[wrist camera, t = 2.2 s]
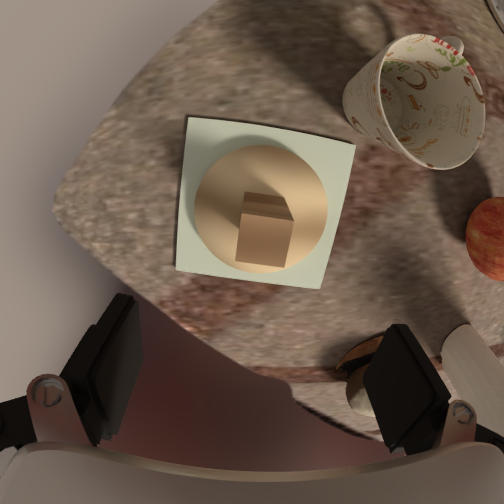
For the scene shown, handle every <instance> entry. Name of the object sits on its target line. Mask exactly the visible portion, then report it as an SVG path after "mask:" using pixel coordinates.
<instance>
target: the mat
mask: <svg viewBox="0 0 504 504" xmlns="http://www.w3.org/2000/svg"><path fill="white" fill-rule="evenodd" d="M251 145H272V146H276V147H280V148H283V149H285V150H288V151H290V152H292V153H294V154H296V155H297V156H299V157H300V158H301V159H303V160H304V161H305V162H306V163H307V164H308V165H310V166H311V167H312V169H313V170H314V171H315V173H316V174H317V175H318V177H319V179H320V180H321V182H322V185H323V187H324V190H325V193H326V197H327V205H328V214H327V221H326V225H325V229H324V232H323V234H322V236H321V238H320V240H319V241H318V243H317V245H316V246H315V247H314V249H313V250H312V251H311V252H310V253H309V254H308V255H307V256H306V257H305V258H303V259H302V260H301V261H299V262H298V263H296V264H294V265H293V266H291V267H288V268H286V269H284V270H280V271H277V272H271V273H250V272H245V271H241V270H238V269H235V268H233V267H231V266H228V265H227V264H225V263H223V262H222V261H220V260H219V259H218V258H217V257H215V256H214V255H213V254H212V253H211V252H210V251H209V249H208V248H207V247H206V246H205V244H204V243H203V241H202V239H201V237H200V235H199V233H198V230H197V227H196V223H195V217H194V202H195V196H196V193H197V190H198V187H199V185H200V182H201V180H202V179H203V177H204V176H205V174H206V172H207V171H208V170H209V169H210V168H211V167H212V166H213V165H214V164H215V163H216V162H217V161H218V160H219V159H220V158H222V157H223V156H225V155H226V154H228V153H230V152H232V151H234V150H236V149H239V148H242V147H245V146H251ZM355 148H356V145H352V144H348V143H344V142H340V141H336V140H332V139H328V138H324V137H319V136H315V135H310V134H305V133H300V132H295V131H290V130H284V129H279V128H273V127H267V126H261V125H254V124H247V123H240V122H232V121H224V120H214V119H204V118H193V117H189V119H188V126H187V134H186V142H185V151H184V160H183V169H182V180H181V191H180V203H179V217H178V233H177V253H176V270H179V271H185V272H192V273H199V274H206V275H213V276H220V277H227V278H234V279H242V280H249V281H257V282H264V283H272V284H280V285H288V286H297V287H305V288H314V289H320V286H321V283H322V280H323V276H324V273H325V269H326V266H327V263H328V259H329V255H330V252H331V248H332V245H333V241H334V237H335V234H336V230H337V226H338V222H339V218H340V214H341V210H342V206H343V202H344V198H345V194H346V189H347V185H348V181H349V176H350V172H351V167H352V162H353V158H354V153H355Z"/></svg>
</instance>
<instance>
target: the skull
mask: <svg viewBox="0 0 504 504" xmlns="http://www.w3.org/2000/svg"><path fill="white" fill-rule="evenodd" d="M380 336H381V335H380ZM380 336H378V337H377V338H374V339H371V340H368V341H366V342H364V343H363V344H362V343H361V345H360V344H359V345H358V346H357V347H355V348H354V349H352V351H350V352H349V353H347V355H345V356H344V357H343V359H342V360H341V361H340V362H339V364H338V366H337V368H338V367H339V366H340V365H341V364H343V366H342V367H341V368H343V369H342V372H345V371H347V372H348V376H349V379H348V381H346V382H347V386H346V388H345V389H346V396H347V400H348V403H349V405H350V406H351V408H352V409H353V410H354V411H356V412H358V413H360V414H363V415H366V416H372V417H375V414H374V411H373V409H372V406H371V403H370V400H369V398H368V395H367V392H366V390H365V387H364V384H363V380H362V379H363V374H364V372H365V371H366V369H367V367H368V365H369V363H370V361H371V360H372V358H373V356H374V354H375V352H376V350H377V348H378V346H379V344H380V342H381V340H382V338H383V336H381V337H380ZM337 368H336V369H337ZM346 378H347V377H346Z"/></svg>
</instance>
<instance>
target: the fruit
mask: <svg viewBox="0 0 504 504" xmlns="http://www.w3.org/2000/svg"><path fill="white" fill-rule="evenodd" d="M466 247H467V250H468V253H469V256H470V258H471V260H472V261H473V263H474V265H475V266H476V267H477V268H478V270H479V271H480V272H482V273H483V274H485V275H487V276H488V277H489V278H491V279H494V280H497V281H504V197H495V198H489V199H487V200H485V201H483V202H481V203H480V204H479V205H478V206H477V207H476V208H475V209H474V210H473V211H472V213H471V215H470V217H469V219H468V223H467V227H466Z"/></svg>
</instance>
